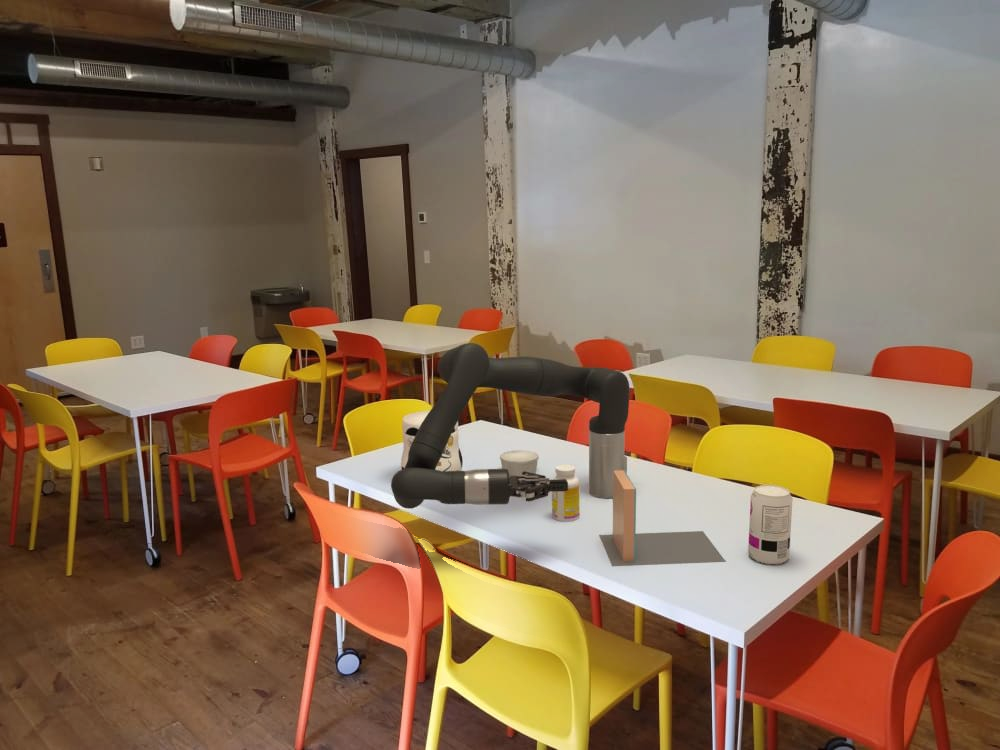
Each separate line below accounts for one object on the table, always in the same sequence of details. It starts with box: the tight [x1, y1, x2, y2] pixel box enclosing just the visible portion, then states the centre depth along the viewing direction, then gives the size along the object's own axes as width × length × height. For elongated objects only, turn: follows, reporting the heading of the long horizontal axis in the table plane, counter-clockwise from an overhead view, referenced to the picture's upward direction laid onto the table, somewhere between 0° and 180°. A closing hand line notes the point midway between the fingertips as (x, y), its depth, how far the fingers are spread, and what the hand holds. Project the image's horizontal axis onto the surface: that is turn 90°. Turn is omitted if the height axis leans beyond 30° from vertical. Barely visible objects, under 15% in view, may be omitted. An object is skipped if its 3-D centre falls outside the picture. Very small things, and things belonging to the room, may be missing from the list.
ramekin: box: [499, 449, 540, 477], centre depth 220 cm, size 11×11×5 cm
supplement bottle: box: [551, 464, 580, 523], centre depth 185 cm, size 7×7×13 cm
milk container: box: [400, 410, 463, 472], centre depth 215 cm, size 17×17×18 cm
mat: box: [598, 530, 727, 567], centre depth 168 cm, size 24×16×1 cm, turn 92°
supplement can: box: [747, 484, 793, 565], centre depth 161 cm, size 8×8×15 cm
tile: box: [612, 470, 637, 561], centre depth 166 cm, size 2×12×16 cm, turn 2°
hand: (567, 485), depth 164 cm, fingers closed
